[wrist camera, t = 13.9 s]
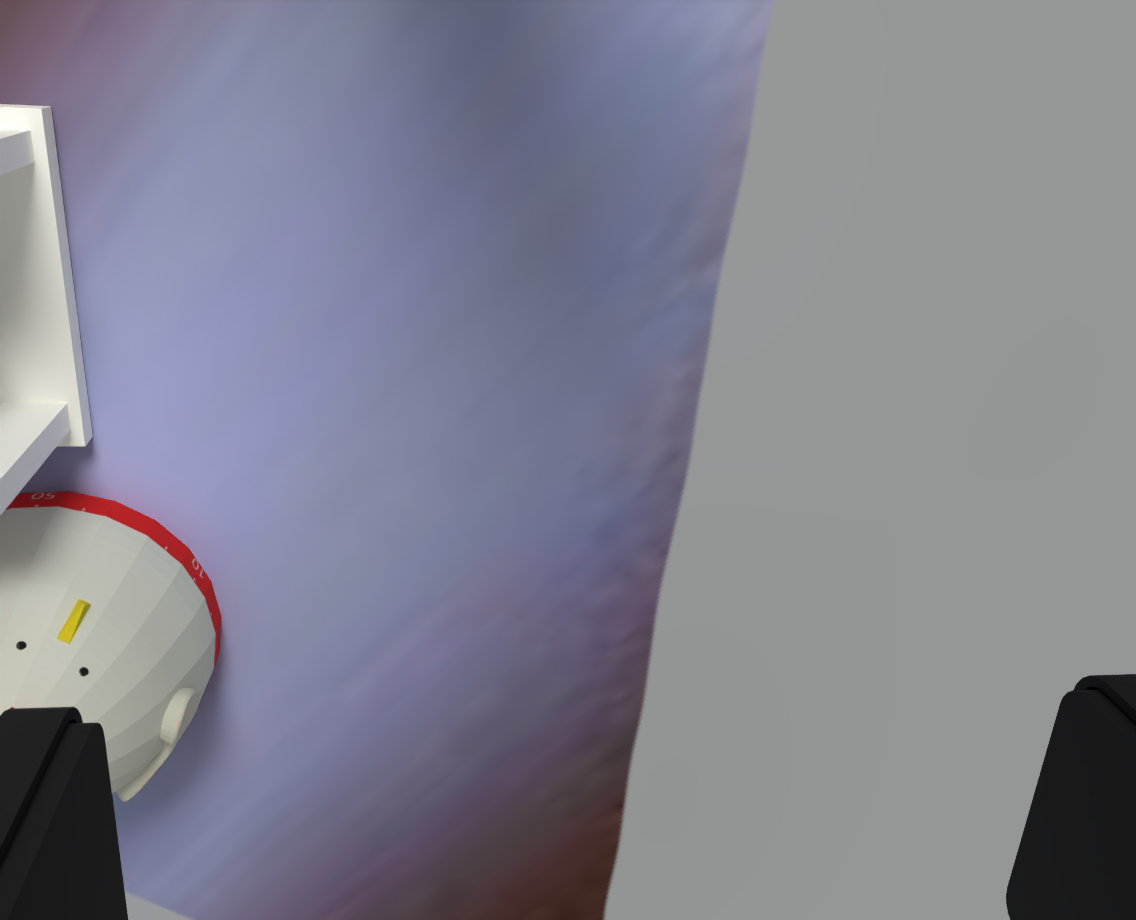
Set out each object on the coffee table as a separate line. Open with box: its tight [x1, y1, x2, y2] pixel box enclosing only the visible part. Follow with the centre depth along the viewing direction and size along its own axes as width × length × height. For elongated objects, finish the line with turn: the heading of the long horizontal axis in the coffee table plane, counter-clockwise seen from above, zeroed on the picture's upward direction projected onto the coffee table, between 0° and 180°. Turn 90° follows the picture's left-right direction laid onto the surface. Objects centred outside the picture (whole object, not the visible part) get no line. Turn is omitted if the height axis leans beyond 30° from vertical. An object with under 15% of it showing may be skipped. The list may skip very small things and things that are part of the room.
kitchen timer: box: [0, 492, 221, 802], centre depth 44 cm, size 14×14×15 cm
